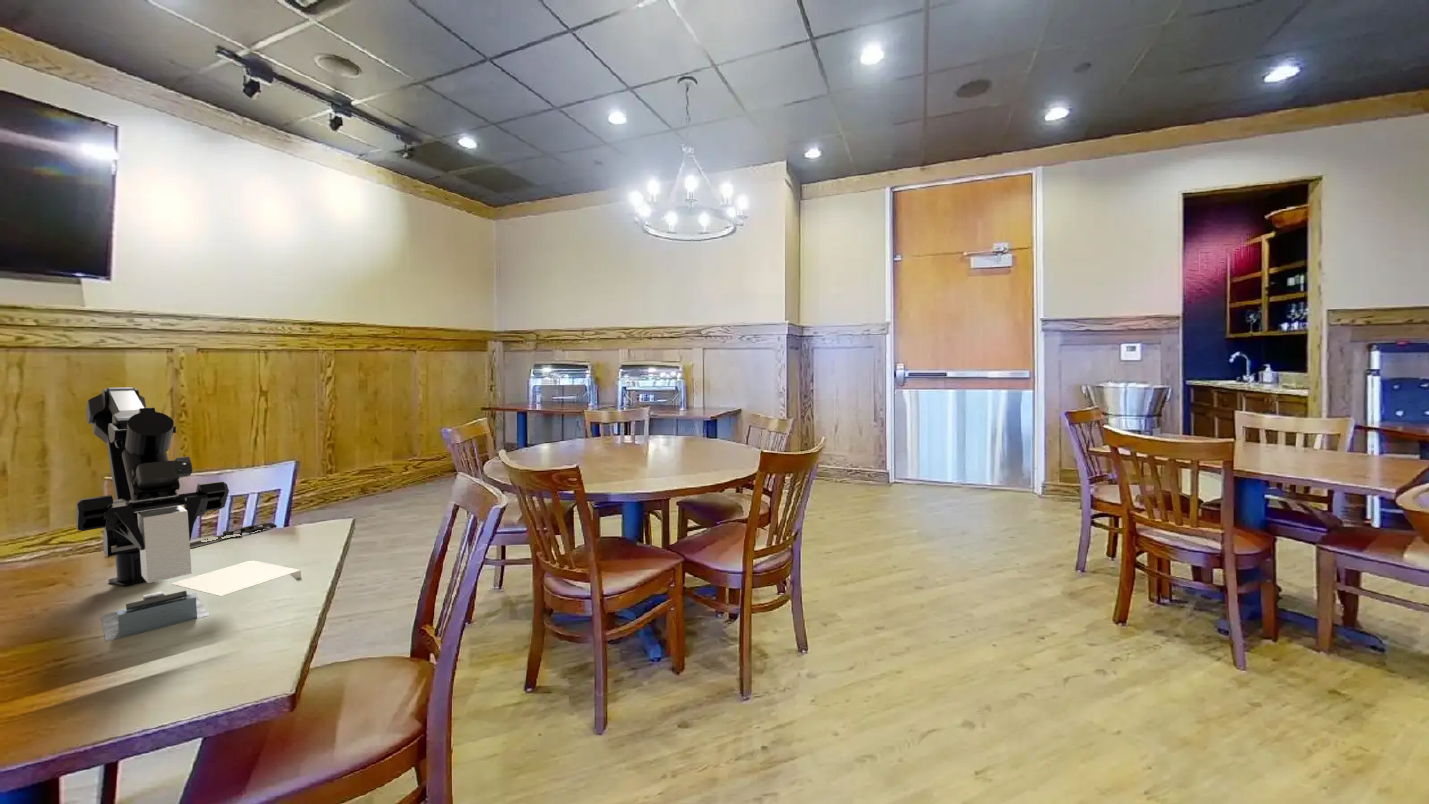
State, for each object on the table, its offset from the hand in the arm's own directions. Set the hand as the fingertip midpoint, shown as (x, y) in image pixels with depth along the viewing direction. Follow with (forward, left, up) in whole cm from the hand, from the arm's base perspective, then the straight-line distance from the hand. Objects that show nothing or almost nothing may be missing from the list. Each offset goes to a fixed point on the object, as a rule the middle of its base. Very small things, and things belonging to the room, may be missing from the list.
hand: (166, 544), depth 97 cm
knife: (-45, +30, -14) cm, 56 cm away
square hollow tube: (-1, 0, -6) cm, 6 cm away
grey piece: (-1, -2, -13) cm, 14 cm away
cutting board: (-8, +14, -13) cm, 21 cm away
